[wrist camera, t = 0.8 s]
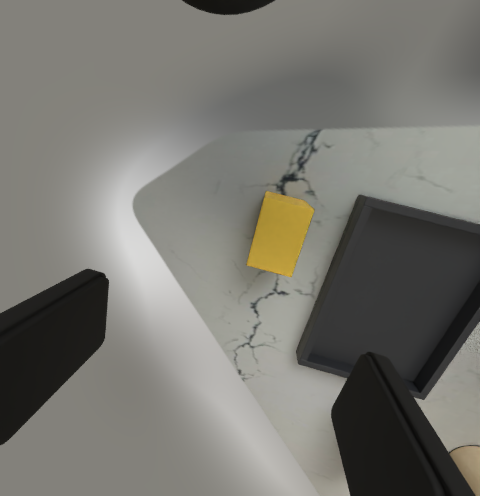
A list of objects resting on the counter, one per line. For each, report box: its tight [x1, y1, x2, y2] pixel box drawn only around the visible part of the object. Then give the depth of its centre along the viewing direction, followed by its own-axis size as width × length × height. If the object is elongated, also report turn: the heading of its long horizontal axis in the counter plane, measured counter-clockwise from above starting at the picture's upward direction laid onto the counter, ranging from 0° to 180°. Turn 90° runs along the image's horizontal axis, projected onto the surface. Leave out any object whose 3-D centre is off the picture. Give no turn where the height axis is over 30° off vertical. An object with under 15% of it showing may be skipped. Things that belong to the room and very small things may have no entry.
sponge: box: [246, 191, 314, 277], centre depth 22 cm, size 4×6×6 cm, turn 167°
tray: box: [296, 195, 480, 400], centre depth 24 cm, size 20×15×2 cm
